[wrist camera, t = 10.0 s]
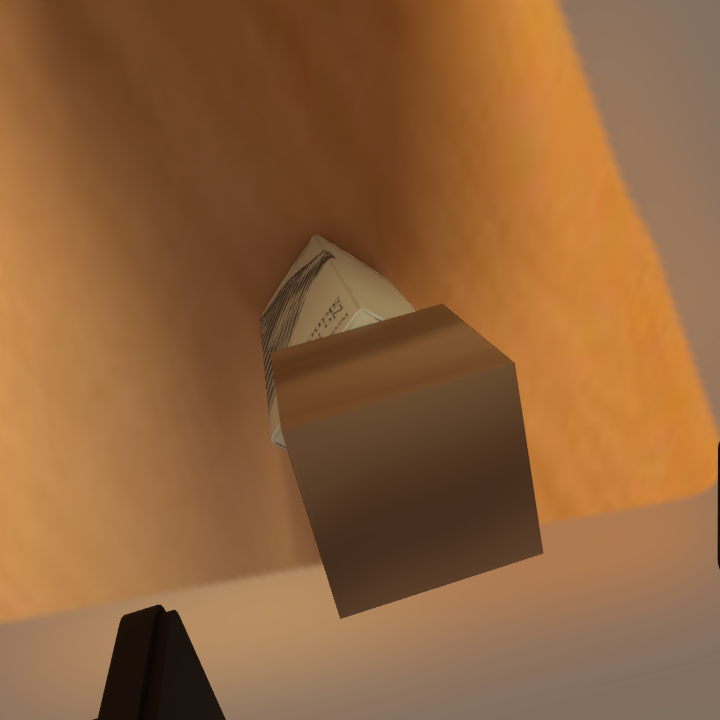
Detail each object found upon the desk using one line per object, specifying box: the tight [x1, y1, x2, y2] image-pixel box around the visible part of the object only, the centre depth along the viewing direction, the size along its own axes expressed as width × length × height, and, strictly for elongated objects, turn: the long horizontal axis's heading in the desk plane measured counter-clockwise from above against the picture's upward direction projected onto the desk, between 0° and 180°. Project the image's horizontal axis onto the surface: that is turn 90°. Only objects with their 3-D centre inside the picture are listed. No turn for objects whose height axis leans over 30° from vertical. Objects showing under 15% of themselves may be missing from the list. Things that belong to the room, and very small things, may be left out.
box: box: [260, 235, 416, 451], centre depth 24 cm, size 5×4×13 cm
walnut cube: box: [270, 304, 543, 619], centre depth 16 cm, size 5×5×5 cm
